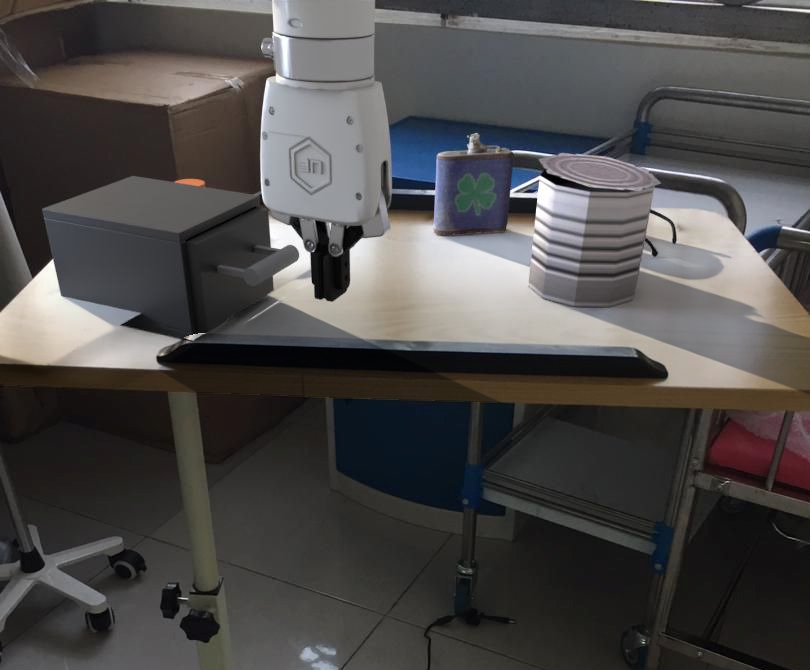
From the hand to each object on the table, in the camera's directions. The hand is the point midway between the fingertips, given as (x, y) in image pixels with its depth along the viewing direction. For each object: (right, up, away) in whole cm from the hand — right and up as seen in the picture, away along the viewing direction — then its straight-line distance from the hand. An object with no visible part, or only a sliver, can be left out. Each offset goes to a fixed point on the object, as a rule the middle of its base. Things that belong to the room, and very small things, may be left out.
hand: (331, 295), depth 78 cm
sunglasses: (+32, +14, +27) cm, 44 cm away
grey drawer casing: (-17, +1, +8) cm, 18 cm away
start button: (-18, +18, +24) cm, 35 cm away
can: (+25, +5, +14) cm, 29 cm away
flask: (+14, +15, +28) cm, 35 cm away
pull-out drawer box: (-13, +1, +6) cm, 14 cm away
